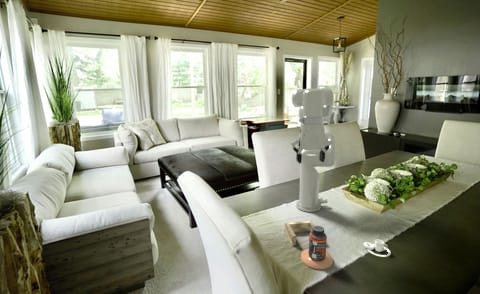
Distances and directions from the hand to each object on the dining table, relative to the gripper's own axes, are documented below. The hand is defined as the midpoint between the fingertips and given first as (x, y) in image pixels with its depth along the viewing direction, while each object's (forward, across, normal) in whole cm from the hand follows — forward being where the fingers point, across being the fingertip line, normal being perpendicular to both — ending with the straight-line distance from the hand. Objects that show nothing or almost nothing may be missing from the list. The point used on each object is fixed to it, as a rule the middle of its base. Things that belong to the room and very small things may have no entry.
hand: (310, 161), depth 107 cm
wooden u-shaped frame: (+30, -5, -7) cm, 31 cm away
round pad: (+30, -5, -21) cm, 37 cm away
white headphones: (+31, +21, -16) cm, 41 cm away
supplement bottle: (+30, -5, -21) cm, 37 cm away
